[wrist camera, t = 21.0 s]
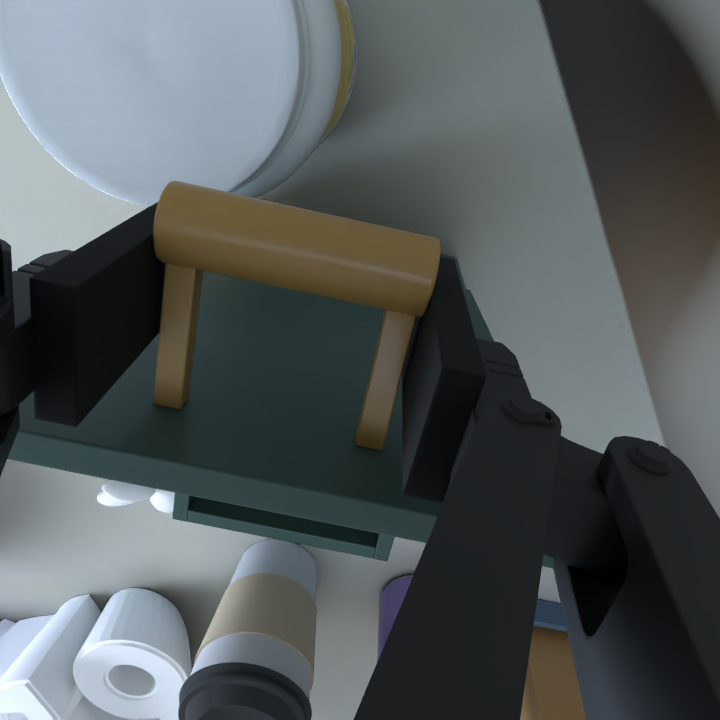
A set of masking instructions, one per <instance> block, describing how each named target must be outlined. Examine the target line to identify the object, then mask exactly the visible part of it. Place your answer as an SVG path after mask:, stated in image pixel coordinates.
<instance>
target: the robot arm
mask: <svg viewBox="0 0 720 720" xmlns="http://www.w3.org/2000/svg"><path fill="white" fill-rule="evenodd" d="M158 202H159V201H158ZM158 202H157V203H155V204H153V205H152V206H150V207H148V208H146V209H145V210H143V211H141V212H140V213H138V214H136V215H135V216H133V217H131V218H130V219H128V220H126V221H125V222H123V223H121V224H119V225H118V226H116V227H114V228H113V229H111V230H109V231H108V232H106V233H104V234H103V235H101V236H99V237H98V238H96V239H94V240H92V241H91V242H89V243H87V244H86V245H84V246H82V247H81V248H79V249H77V250H76V251H70V250H62V251H58V252H53V253H49V254H44V255H42V256H40V257H39V258H37V259H35V260H33V261H31V262H30V264H26V265H24V266H22V267H20V268H19V269H18V271H13V272H12V259H11V246H10V245H9V244H8V243H7V242H5V241H4V240H1V239H0V476H1V473H2V471H3V468H4V466H5V463H6V461H7V458H8V456H9V453H10V451H11V448H12V446H13V443H14V440H15V438H16V435H17V433H18V430H19V428H20V413H19V404H20V403H21V402H23V401H24V400H25V399H26V398H27V397H28V396H29V395H30V394H31V393H32V392H33V391H34V414H35V419H39V420H43V421H48V422H53V423H58V424H63V425H68V426H73V427H77V426H78V425H79V424H80V423H81V422H82V420H83V419H84V418H85V417H86V416H87V415H88V414H89V412H90V411H91V410H92V409H93V408H94V407H95V406H96V404H97V403H98V402H99V401H100V400H101V399H102V398H103V396H104V395H105V394H106V393H107V392H108V391H109V390H110V388H111V387H112V386H113V385H114V384H115V383H116V382H117V380H118V379H119V378H120V377H121V376H122V375H123V374H124V372H125V371H126V370H127V369H128V368H129V367H130V366H131V364H132V363H133V362H134V361H135V360H136V359H137V358H138V356H139V355H140V354H141V353H142V352H143V351H144V350H145V348H146V347H147V346H148V345H149V344H150V343H151V342H152V340H153V339H154V338H155V337H156V336H157V335H158V334H159V331H160V320H161V309H162V297H163V286H164V274H165V263H163V262H161V261H160V260H159V259H158V258H157V257H156V254H155V251H154V244H153V226H154V218H155V213H156V208H157V205H158ZM519 368H520V367H519V364H518V361H517V359H516V356H515V355H514V354H513V353H512V352H511V351H510V350H509V349H508V348H507V347H506V346H505V345H503V344H502V343H499V342H494V341H489V340H485V339H480V338H476V337H475V333H474V329H473V326H472V322H471V318H470V315H469V311H468V307H467V304H466V300H465V296H464V293H463V289H462V285H461V282H460V278H459V274H458V271H457V267H456V263H455V260H454V259H449V258H445V257H440V262H439V267H438V273H437V277H436V282H435V286H434V289H433V293H432V297H431V300H430V303H429V306H428V308H427V310H426V312H425V314H424V315H423V316H422V317H416V320H415V324H414V328H413V332H412V336H411V340H410V344H409V348H408V351H407V355H406V359H405V363H404V367H403V371H402V452H403V495H406V496H411V497H416V498H421V499H426V500H431V501H435V502H440V503H443V500H444V497H445V494H446V492H447V489H448V486H449V483H450V480H451V486H450V488H449V491H448V493H447V495H446V498H445V500H444V503H443V505H442V508H441V510H440V512H439V515H438V517H437V520H436V522H435V524H434V527H433V529H432V532H431V534H430V537H429V539H428V541H427V544H426V546H425V549H424V551H423V553H422V556H421V558H420V561H419V563H418V565H417V568H416V570H415V573H414V575H413V578H412V580H411V582H410V585H409V587H408V590H407V592H406V594H405V597H404V599H403V602H402V604H401V607H400V609H399V611H398V614H397V616H396V619H395V621H394V623H393V626H392V628H391V631H390V633H389V636H388V638H387V640H386V643H385V645H384V648H383V650H382V652H381V655H380V657H379V660H378V662H377V665H376V667H375V669H374V672H373V674H372V677H371V679H370V681H369V684H368V686H367V689H366V691H365V694H364V696H363V698H362V701H361V703H360V706H359V708H358V710H357V713H356V715H355V718H354V720H520V717H521V709H522V702H523V695H524V688H525V681H526V674H527V667H528V660H529V653H530V646H531V639H532V632H533V625H534V618H535V611H536V604H537V597H538V590H539V583H540V576H541V569H542V562H543V555H546V556H549V557H551V558H553V559H554V561H553V569H554V573H555V578H556V583H557V587H558V592H559V596H560V601H561V606H562V610H563V615H564V619H565V624H566V629H567V633H568V638H569V642H570V647H571V652H572V656H573V661H574V665H575V670H576V675H577V679H578V684H579V688H580V693H581V698H582V702H583V707H584V711H585V716H586V720H720V519H719V517H718V515H717V514H716V512H715V510H714V509H713V507H712V505H711V504H710V502H709V501H708V499H707V497H706V496H705V494H704V492H703V491H702V489H701V487H700V486H699V484H698V483H697V481H696V479H695V478H694V476H693V474H692V473H691V471H690V470H689V468H688V467H687V466H686V465H685V464H684V463H683V462H682V460H680V459H679V458H678V457H676V456H674V455H673V454H672V453H671V452H670V450H668V449H667V448H665V447H663V446H659V444H657V443H655V442H652V441H646V440H643V439H640V438H635V437H628V436H621V437H614V438H613V439H612V440H611V441H610V442H609V444H608V446H607V448H606V450H605V452H604V454H602V453H599V452H596V451H594V450H591V449H589V448H586V447H584V446H581V445H578V444H576V443H574V442H572V441H570V440H567V439H566V438H564V437H562V436H560V435H561V428H562V426H561V422H560V419H559V417H558V416H557V415H556V414H555V413H554V412H553V410H551V409H550V408H548V407H547V406H545V405H544V404H542V403H541V402H538V401H536V400H534V399H532V397H531V395H530V392H529V390H528V387H527V385H526V382H525V379H523V374H522V372H521V369H519Z"/></svg>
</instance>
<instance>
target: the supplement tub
mask: <svg viewBox="0 0 720 720" xmlns="http://www.w3.org/2000/svg"><path fill="white" fill-rule="evenodd" d="M356 69H357V40H356V34H355V27H354V23H353V19H352V15H351V12H350V9H349V6H348V3H347V1H346V0H0V75H1V78H2V81H3V83H4V86H5V88H6V90H7V92H8V94H9V96H10V98H11V100H12V102H13V104H14V106H15V108H16V110H17V111H18V113H19V115H20V116H21V118H22V119H23V121H24V122H25V124H26V125H27V127H28V128H29V129H30V131H31V132H32V133H33V135H34V136H35V137H36V138H37V140H38V141H39V142H40V143H41V145H42V146H43V147H44V148H45V149H46V150H47V151H48V152H49V153H50V154H51V155H52V156H53V157H54V158H55V159H56V160H57V161H58V162H59V163H60V164H61V165H63V166H64V167H65V168H66V169H67V170H69V171H70V172H71V173H72V174H74V175H75V176H77V177H78V178H80V179H81V180H83V181H84V182H86V183H87V184H89V185H91V186H92V187H94V188H96V189H98V190H100V191H102V192H104V193H106V194H108V195H111V196H113V197H116V198H119V199H121V200H125V201H128V202H132V203H135V204H141V205H147V206H152V205H153V204H155V203H157V202H158V201H159V199H160V196H161V194H162V192H163V190H164V188H165V186H166V185H167V184H168V183H169V182H171V181H180V182H184V183H189V184H194V185H198V186H203V187H207V188H212V189H217V190H221V191H226V192H230V193H235V194H239V195H244V196H249V197H253V198H256V197H258V196H261V195H263V194H265V193H267V192H269V191H270V190H272V189H274V188H275V187H277V186H279V185H280V184H281V183H283V182H284V181H285V180H287V179H288V178H289V177H290V176H291V175H292V174H293V173H294V172H295V171H297V170H298V169H299V168H300V167H301V165H302V164H303V163H304V162H305V161H306V160H307V158H308V157H309V156H310V154H311V153H312V152H313V151H314V150H315V149H316V148H317V147H318V145H319V144H321V143H322V142H323V141H324V140H325V139H326V138H327V137H328V135H329V134H330V133H331V132H332V131H333V129H334V128H335V127H336V125H337V124H338V122H339V121H340V119H341V117H342V115H343V113H344V111H345V109H346V107H347V105H348V102H349V99H350V97H351V93H352V90H353V86H354V82H355V76H356Z"/></svg>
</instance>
